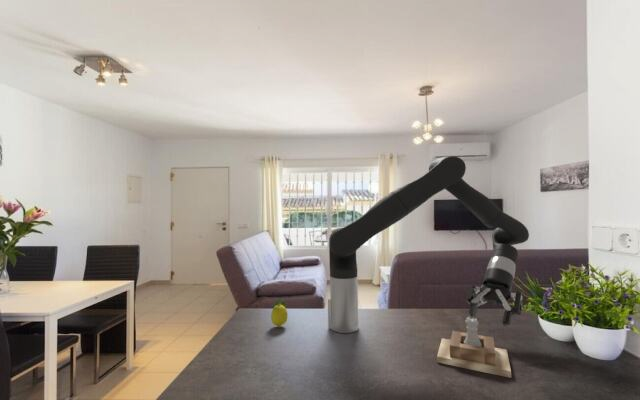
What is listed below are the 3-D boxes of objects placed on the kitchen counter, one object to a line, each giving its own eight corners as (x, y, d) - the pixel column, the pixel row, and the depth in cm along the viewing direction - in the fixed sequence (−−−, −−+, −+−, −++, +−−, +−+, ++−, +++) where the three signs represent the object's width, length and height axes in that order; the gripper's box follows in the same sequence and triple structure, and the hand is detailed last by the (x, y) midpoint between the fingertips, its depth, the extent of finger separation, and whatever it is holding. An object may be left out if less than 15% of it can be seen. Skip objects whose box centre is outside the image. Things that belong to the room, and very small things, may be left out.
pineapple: (272, 332, 96) (272, 301, 96) (266, 326, 101) (266, 296, 101) (291, 328, 99) (291, 298, 100) (285, 322, 104) (284, 293, 105)
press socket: (437, 362, 76) (436, 344, 76) (442, 343, 86) (441, 327, 87) (511, 378, 68) (510, 358, 68) (506, 355, 79) (506, 338, 79)
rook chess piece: (485, 354, 75) (483, 322, 75) (466, 352, 76) (465, 321, 76) (479, 346, 79) (478, 316, 80) (461, 345, 80) (460, 315, 80)
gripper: (472, 264, 97) (458, 307, 89) (523, 270, 86) (513, 320, 78) (479, 277, 100) (466, 321, 92) (529, 285, 90) (519, 334, 82)
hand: (487, 320), depth 85 cm, fingers open, 8 cm apart
